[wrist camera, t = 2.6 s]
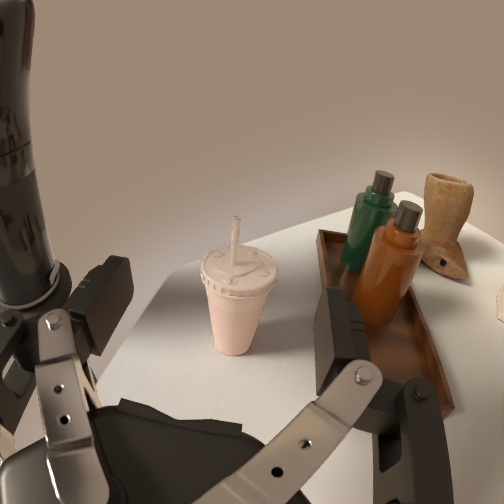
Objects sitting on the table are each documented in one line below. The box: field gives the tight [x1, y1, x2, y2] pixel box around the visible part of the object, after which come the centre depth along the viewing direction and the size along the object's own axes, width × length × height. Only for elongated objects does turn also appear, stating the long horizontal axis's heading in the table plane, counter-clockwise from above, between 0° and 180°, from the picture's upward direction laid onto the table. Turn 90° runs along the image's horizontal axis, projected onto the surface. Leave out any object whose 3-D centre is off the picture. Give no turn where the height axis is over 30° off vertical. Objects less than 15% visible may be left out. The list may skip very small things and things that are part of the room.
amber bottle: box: [350, 200, 425, 326], centre depth 32 cm, size 6×6×14 cm
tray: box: [316, 229, 455, 419], centre depth 36 cm, size 31×12×2 cm, turn 174°
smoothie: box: [200, 216, 277, 356], centre depth 27 cm, size 6×6×14 cm
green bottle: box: [340, 170, 398, 274], centre depth 40 cm, size 6×6×14 cm
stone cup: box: [420, 173, 474, 279], centre depth 46 cm, size 15×12×15 cm
